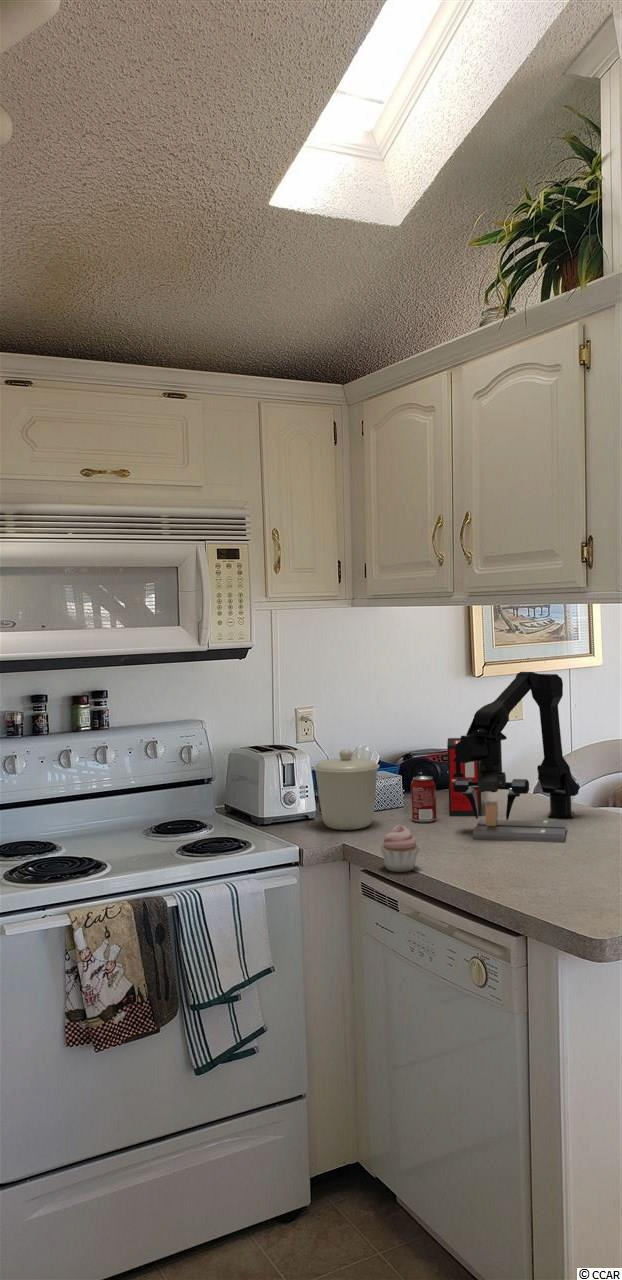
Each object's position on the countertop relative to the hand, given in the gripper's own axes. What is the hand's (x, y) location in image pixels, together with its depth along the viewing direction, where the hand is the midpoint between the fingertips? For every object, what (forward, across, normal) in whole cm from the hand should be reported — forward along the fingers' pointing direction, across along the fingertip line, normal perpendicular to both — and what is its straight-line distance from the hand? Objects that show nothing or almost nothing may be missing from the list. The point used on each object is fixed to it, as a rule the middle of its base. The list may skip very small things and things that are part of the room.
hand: (492, 819), depth 240 cm
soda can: (+4, -20, +12) cm, 24 cm away
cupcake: (+4, -16, -38) cm, 41 cm away
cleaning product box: (+4, -11, +28) cm, 30 cm away
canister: (+4, -39, +2) cm, 39 cm away
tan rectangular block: (+2, 0, 0) cm, 2 cm away
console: (+4, +7, 0) cm, 8 cm away
